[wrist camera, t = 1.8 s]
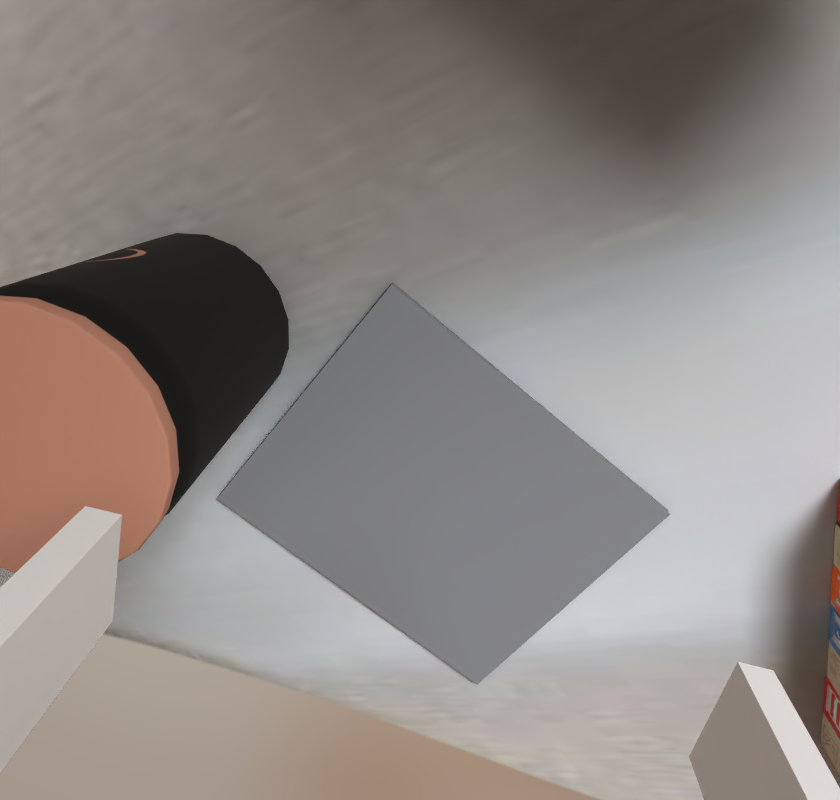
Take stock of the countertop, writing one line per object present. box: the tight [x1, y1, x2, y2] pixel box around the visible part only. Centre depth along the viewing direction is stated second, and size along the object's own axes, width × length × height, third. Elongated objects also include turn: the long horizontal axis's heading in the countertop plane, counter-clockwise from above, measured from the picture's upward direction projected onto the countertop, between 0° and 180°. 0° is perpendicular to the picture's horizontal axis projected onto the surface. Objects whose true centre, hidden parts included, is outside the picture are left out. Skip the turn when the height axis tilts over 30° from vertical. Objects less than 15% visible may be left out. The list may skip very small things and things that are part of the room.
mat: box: [217, 283, 670, 685], centre depth 44 cm, size 22×18×1 cm
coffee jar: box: [0, 233, 289, 573], centre depth 32 cm, size 11×11×18 cm
